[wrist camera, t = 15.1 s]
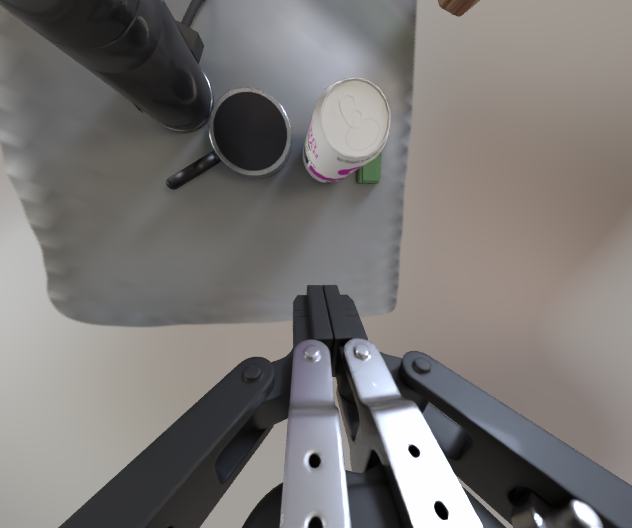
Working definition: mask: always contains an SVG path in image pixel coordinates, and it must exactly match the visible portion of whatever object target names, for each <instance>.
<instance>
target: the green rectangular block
mask: <svg viewBox="0 0 632 528" xmlns="http://www.w3.org/2000/svg"><path fill="white" fill-rule="evenodd" d="M380 164H381V152H380V153H379V154H378V155H377V157H376V158H375V159H373V160H372V161H370V162H368V163H367V164H365V165H364V166H362V167H361V168H359V169H358V183H379V182H380Z"/></svg>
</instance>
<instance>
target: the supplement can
mask: <svg viewBox="0 0 632 528" xmlns="http://www.w3.org/2000/svg"><path fill="white" fill-rule="evenodd" d="M389 128H390V109H389V105H388V102H387V99H386V97H385V96H384V94H383V93H382V91H381V90H380V88H379V87H377V86H376V85H375V84H373V83H372V82H371V81H369V80H366V79H362V78H358V77H354V78H347V79H343V80H341V81H337V82H336V83H334V84H332V85H331V86H329V87H328V88H326V89H325V91H324V92H323V93H322V95H321V96H320V97H319V99H318V100H317V102H316V105H315V108H314V112H313V115H312V118H311V122H310V126H309V129H308V133H307V136H306V140H305V144H304V147H303V162H304V165H305V168H306V170H307V171H308V172H309V174H310V175H311V176H312V177H313V178H315V179H316V180H318V181H319V182H323V183H334V182H338V181H340V180H341V179H343V178H345V177H346V176H348V175H349V174H351V173H353V172H354V171H356V170H357V169H359V168H361V167H362V166H364V165H365V164H367V163H368V162H370V161H372V160H373V159H375V158H376V157H377V155H378V154H379V153H380V152H381V150H382V149H383V148H384V146H385V143H386V140H387V138H388V135H389Z"/></svg>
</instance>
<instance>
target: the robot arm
mask: <svg viewBox="0 0 632 528" xmlns="http://www.w3.org/2000/svg"><path fill="white" fill-rule="evenodd" d="M204 1H205V0H192V1H191V3H190V5H189V7H188V9H187V11H186V13H185V15H184V18H183V20H182V22H181V23H180V22H178V21H176V20H175V19H174V18H173V16H172V14H171V12H170V10H169V9H168V7H167V5H166V3H165V2H164V0H0V5H1V6H2V7H4V8H5V9H6V10H8V11H9V12H10V13H11V14H13V15H14V16H15V17H17V18H18V19H20V20H21V21H22V22H24V23H25V24H26V25H28V26H29V27H30V28H32V29H33V30H35V31H36V32H37V33H39V34H40V35H41V36H43V37H44V38H45V39H47V40H48V41H50V42H51V43H52V44H54V45H55V46H56V47H58V48H59V49H60V50H62V51H63V52H64V53H66V54H67V55H69V56H70V57H71V58H73V59H74V60H75V61H77V62H78V63H79V64H81V65H82V66H84V67H85V68H86V69H88V70H89V71H90V72H92V73H93V74H94V75H96V76H97V77H98V78H100V79H101V80H102V81H104V82H105V83H106V84H108V85H109V86H111V87H112V88H113V89H115V90H116V91H117V92H119V93H120V94H121V95H123V96H124V97H125V98H127V99H128V100H129V101H131V102H132V103H133V104H134V105H135V106H136V107H137V108H138V107H139V108H140V109H142V110H143V111H144V112H146V113H147V114H148V115H150V116H151V117H152V118H153V119H154V120H155V121H157V122H158V123H159V124H161V125H162V126H164V127H165V128H167V129H170V130H172V131H176V132H191V131H194V130H197V129H199V128H200V127H202V126H203V125H204V124H205V123H206V122H207V121H208V119H209V117H210V115H211V112H212V109H213V101H214V100H213V92H212V88H211V85H210V83H209V81H208V79H207V77H206V76H205V74H204V73H203V71H202V70H201V68H200V67H199V65H198V64H199V61H200V58H201V55H202V51H203V48H204V44H203V42H202V40H201V38H200V36H199V34H198V32H196V31H194V30H193V29H191V28H189V27H190V25H191V23H192V20H193V18H194V16H195V14H196V12H197V10H198V8H199V7H200V5H201V4H202V2H204ZM139 108H138V110H140V109H139ZM140 111H141V110H140ZM141 112H142V111H141ZM142 113H143V112H142ZM332 377H336V379H337V391H336V394H337V399H338V403H339V407H340V411H341V415H342V419H343V423H344V426H345V430H346V434H347V438H348V442H349V447H350V461H351V468H352V471H347V470H345V463H344V454H343V445H342V436H341V428H340V427H341V426H340V417H339V411H338V408H337V407H336V406H335V401H334V389H333V379H332ZM429 402H430V403H431V404H432V405H431V404H430V403H429ZM433 405H434V406H435V407H436V408H435V407H434V406H433ZM437 408H438V409H439V410H440V411H441V412H440V411H439V410H438V409H437ZM442 412H443V413H444V414H445V415H447V416H448V417H449V418H448V417H447V416H445V415H444V414H443V413H442ZM287 418H288V425H287V439H286V451H285V465H284V478H283V483H281V484H279V485H278V486H276V487H275V488H273V489H272V490H271V491H270V492H269V493H268V494H266V495H265V497H263V499H262V500H261V501H260V502H259V503H258V504H257V506H256V507H255V508H254V509H253V511H252V512H251V514H250V515H249V517H248V518H247V520H246V521H245V523H244V525H243V527H242V528H506V527H505V526H504V525H503V524H502V523H501V522H499V520H498V519H496V518H495V517H494V516H493V515H492V514H491V513H490V512H489V511H488V510H487V509H486V508H485V507H484V506H483V505H482V504H481V503H479V501H477V500H476V499H475V498H474V497H473V496H472V495H471V494H470V493H469V492H468V491H467V490H466V489H465V488H463V487H462V486H461V485H460V483H459V482H458V480H457V478H456V476H457V477H459V478H460V479H461V480H462V481H463V482H464V483H465V484H466V485H467V486H469V487H470V488H471V489H472V490H473V491H474V492H475V493H476V494H478V495H479V496H480V497H481V498H482V499H483V500H484V501H486V503H488V504H489V505H490V506H491V507H492V508H493V509H494V510H495V511H497V512H498V513H499V514H500V515H501V516H502V517H503V518H504V519H506V520H507V521H508V522H509V523H510V524H511V525H512V526H513V528H632V486H631V485H630V484H628V483H627V482H625V481H623V480H622V479H620V478H619V477H617V476H616V475H614V474H613V473H611V472H609V471H608V470H606V469H605V468H603V467H602V466H600V465H599V464H597V463H595V462H594V461H592V460H591V459H589V458H588V457H586V456H584V455H583V454H581V453H580V452H578V451H577V450H575V449H574V448H572V447H570V446H569V445H567V444H566V443H564V442H563V441H561V440H559V439H558V438H556V437H555V436H553V435H552V434H550V433H549V432H547V431H545V430H544V429H542V428H541V427H539V426H538V425H536V424H535V423H533V422H532V421H530V420H528V419H527V418H525V417H524V416H522V415H521V414H519V413H517V412H516V411H514V410H513V409H511V408H510V407H508V406H507V405H505V404H503V403H502V402H500V401H499V400H497V399H496V398H494V397H492V396H491V395H489V394H488V393H486V392H485V391H483V390H482V389H480V388H478V387H477V386H475V385H474V384H472V383H471V382H469V381H468V380H466V379H464V378H463V377H461V376H460V375H458V374H457V373H455V372H453V371H452V370H450V369H449V368H447V367H445V366H444V365H443V364H441V363H439V362H438V361H436V360H435V359H433V358H432V357H430V356H428V355H427V354H424V353H421V352H418V351H410V352H407V353H406V354H405V355H404V356H403V358H398V357H395V356H390V355H386V354H384V353H382V352H379V350H378V348H377V347H376V346H375V345H374V344H373V343H372V342H370V341H369V340H368V338H367V335H366V333H365V330H364V327H363V325H362V322H361V320H360V317H359V314H358V312H357V310H356V307H355V304H354V301H353V300H352V299H351V298H350V297H349V296H348V295H340V293H339V290H338V287H337V285H307V295H297V297H296V298H295V300H294V302H293V349H292V351H291V352H290V353H289V354H288V355H287V356H286V357H284V358H282V359H280V360H277V361H274V362H270V361H269V360H267V359H265V358H262V357H251V358H248V359H246V360H244V361H242V362H241V363H240V364H239V365H237V366H236V367H235V368H234V369H233V370H232V371H231V372H230V373H229V374H227V375H226V376H225V377H224V378H223V379H222V380H221V381H220V382H219V383H218V384H216V385H215V386H214V387H213V388H212V389H211V390H210V391H209V392H208V393H206V394H205V395H204V396H203V397H202V398H201V399H200V400H199V401H198V402H197V403H195V404H194V405H193V406H192V407H191V408H190V409H189V410H188V411H187V412H186V413H184V414H183V415H182V416H181V417H180V418H179V419H178V420H177V421H176V422H175V423H173V424H172V425H171V426H170V427H169V428H168V429H167V430H166V431H165V432H163V433H162V434H161V435H160V436H159V437H158V438H157V439H156V440H155V441H154V442H153V443H151V444H150V445H149V446H148V447H147V448H146V449H145V450H144V451H142V452H141V453H140V454H139V455H138V456H137V457H136V458H135V459H134V460H133V461H131V462H130V463H129V464H128V465H127V466H126V467H125V468H124V469H123V470H121V472H119V473H118V474H117V475H116V476H115V477H114V478H113V479H112V480H110V481H109V482H108V483H107V484H106V485H105V486H104V487H103V488H102V489H101V490H99V491H98V492H97V493H96V494H95V495H94V496H93V497H92V498H91V499H90V500H88V501H87V502H86V503H85V504H84V505H83V506H82V507H81V508H80V509H78V510H77V511H76V512H75V513H74V514H73V515H72V516H71V517H70V518H69V519H68V520H66V521H65V522H64V523H63V524H62V525H61V526H60V527H59V528H200V526H201V525H202V523H203V522H204V521H205V519H206V518H207V517H208V515H209V513H210V512H211V511H212V510H213V508H214V507H215V506H216V504H217V503H218V502H219V500H220V499H221V498H222V496H223V495H224V493H225V492H226V491H227V489H228V488H229V487H230V485H231V484H232V483H233V481H234V480H235V478H236V477H237V476H238V474H239V473H240V472H241V470H242V469H243V468H244V466H245V465H246V463H247V462H248V461H249V459H250V458H251V457H252V455H253V454H254V453H255V451H256V450H257V448H258V447H259V446H260V444H261V443H262V442H263V440H264V439H265V437H266V436H267V435H268V433H269V432H270V431H271V429H272V428H273V426H274V424H276V423H279V422H281V421H283V420H285V419H287ZM450 418H451V419H452V420H453V421H455V422H456V423H457V424H459V425H460V426H461V427H460V426H459V425H457V424H456V423H454V422H453V421H452V420H451V419H450ZM455 475H456V476H455Z"/></svg>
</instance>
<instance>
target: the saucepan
mask: <svg viewBox="0 0 632 528" xmlns="http://www.w3.org/2000/svg"><path fill="white" fill-rule="evenodd" d="M209 134H210V139H211V143H212V145H213V148H214V150H215V151H212V152H211V153H209V154H207V155H206V156H204V157H202V158H201V159H199V160H197V161H196V162H194V163H192V164H191V165H189V166H188V167H186V168H184V169H183V170H181V171H179V172H178V173H176V174H174V175H173V176H171V177H170V178H168V179H167V180H166V184H167V186H168V187H169V188H170V189H177V188H179V187H181V186H182V185H184V184H185V183H187V182H189V181H190V180H192V179H194V178H195V177H197V176H199V175H200V174H202V173H203V172H205V171H207V170H208V169H210V168H212V167H213V166H215V165H217V164H218V163H220V162H221V160H222V161H223V162H224V163H225V164H226V165H227V166H228V167H230V168H231V169H232V170H233V171H234V172H236V173H237V174H239V175H241V176H244V177H246V178H251V179H263V178H267V177H270V176H272V175H274V174H275V173H277V172H278V171H279V170H280V169H281V168H282V167H283V166H284V165H285V163H286V161H287V159H288V157H289V153H290V148H291V136H292V134H291V126H290V122H289V119H288V117H287V115H286V112H285V111H284V109H283V108H282V106H281V105H280V104H279V103H278V102H277V101H276V100H275V99H274V98H273V97H272V96H271V95H269V94H267V93H266V92H264V91H261V90H259V89H255V88H249V87H244V88H237V89H234V90H231V91H229V92H227V93H226V94H224V95H223V96H222V97H221V98H220V99H219V100H218V101H217V103H216V104H215V106H214V108H213V110H212V112H211V115H210V120H209Z"/></svg>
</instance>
